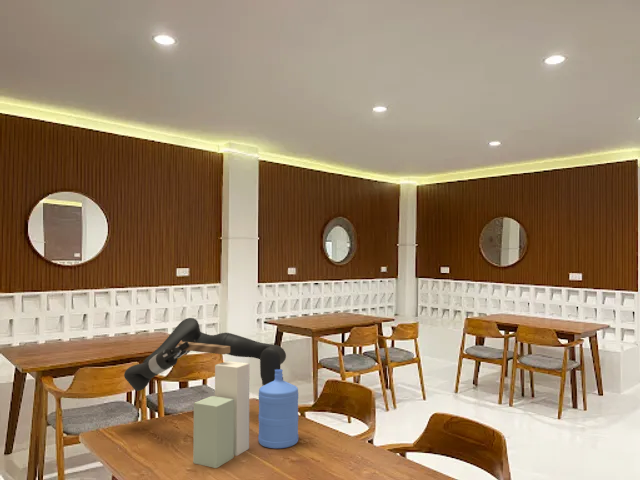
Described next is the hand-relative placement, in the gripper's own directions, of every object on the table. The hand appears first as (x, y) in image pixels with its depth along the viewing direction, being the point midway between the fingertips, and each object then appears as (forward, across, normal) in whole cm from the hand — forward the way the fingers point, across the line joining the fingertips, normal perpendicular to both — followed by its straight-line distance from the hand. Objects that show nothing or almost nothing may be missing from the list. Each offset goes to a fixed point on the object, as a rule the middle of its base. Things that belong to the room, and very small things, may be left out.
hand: (191, 343), depth 201 cm
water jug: (+7, +15, +49) cm, 52 cm away
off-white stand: (-3, +1, +43) cm, 43 cm away
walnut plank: (+4, 0, +5) cm, 7 cm away
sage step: (-3, -10, +43) cm, 44 cm away
